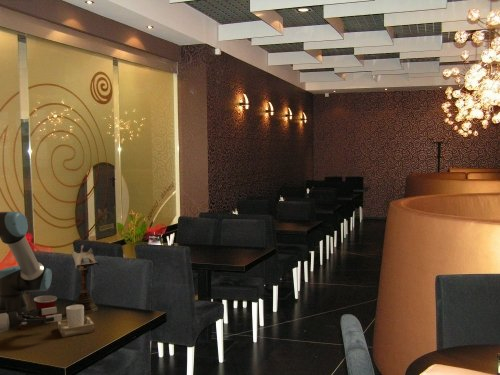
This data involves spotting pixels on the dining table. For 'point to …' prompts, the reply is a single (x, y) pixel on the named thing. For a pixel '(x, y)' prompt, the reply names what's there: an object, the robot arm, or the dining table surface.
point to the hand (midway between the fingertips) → (59, 313)
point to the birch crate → (75, 328)
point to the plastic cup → (45, 303)
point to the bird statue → (85, 278)
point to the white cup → (75, 315)
